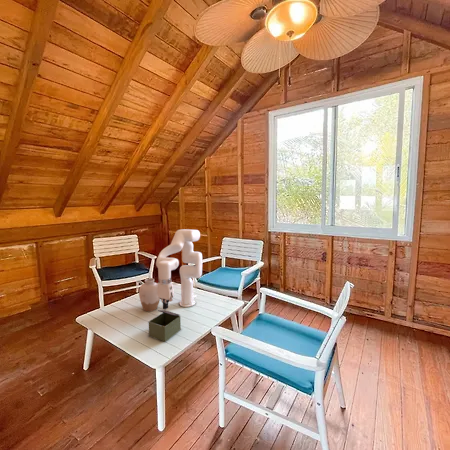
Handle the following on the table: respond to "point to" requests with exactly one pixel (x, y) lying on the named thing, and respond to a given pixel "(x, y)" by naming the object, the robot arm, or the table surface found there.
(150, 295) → the vase
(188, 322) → the table surface
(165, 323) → the olive green hollow box
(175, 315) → the flap
